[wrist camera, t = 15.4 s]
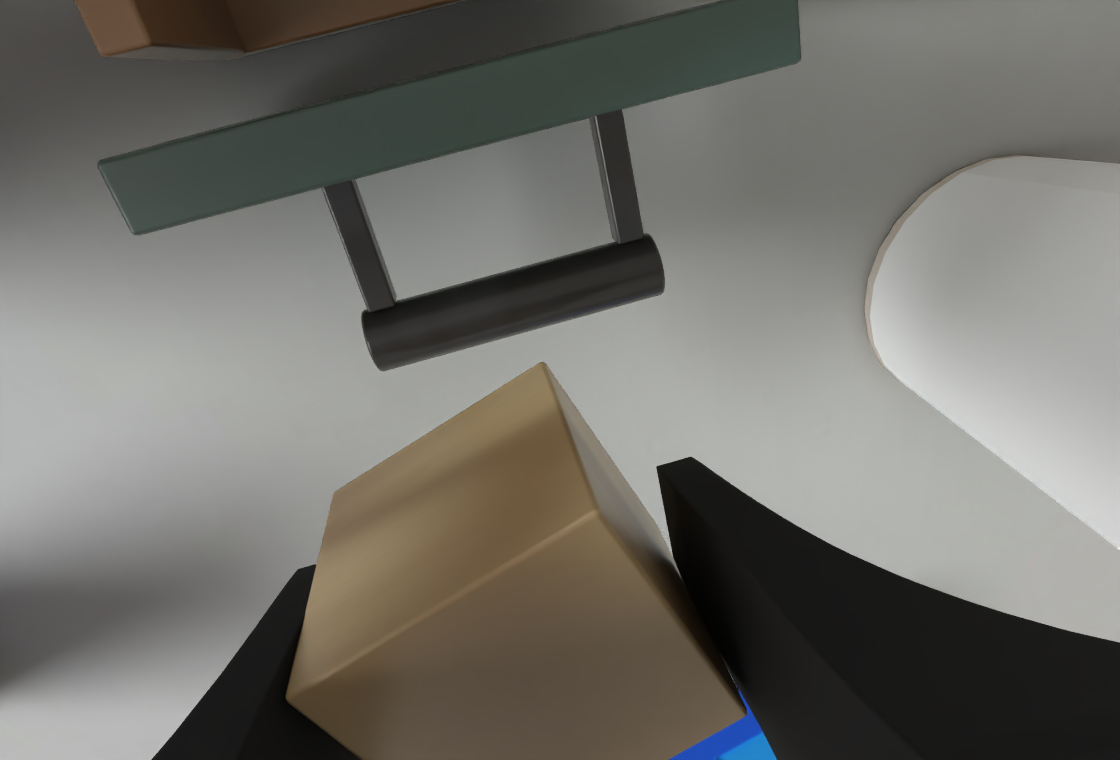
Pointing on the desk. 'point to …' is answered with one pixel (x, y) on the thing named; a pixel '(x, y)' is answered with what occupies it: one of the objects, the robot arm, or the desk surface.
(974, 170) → the mug
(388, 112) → the drawer
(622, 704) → the block
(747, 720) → the toy car
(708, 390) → the desk surface
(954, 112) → the desk surface
